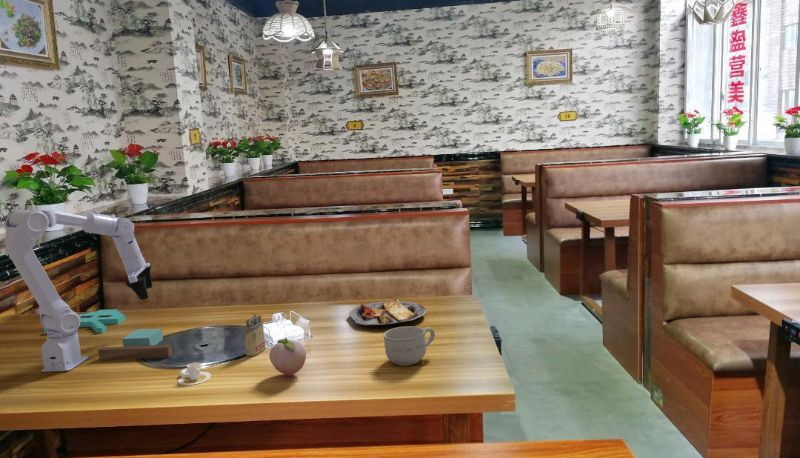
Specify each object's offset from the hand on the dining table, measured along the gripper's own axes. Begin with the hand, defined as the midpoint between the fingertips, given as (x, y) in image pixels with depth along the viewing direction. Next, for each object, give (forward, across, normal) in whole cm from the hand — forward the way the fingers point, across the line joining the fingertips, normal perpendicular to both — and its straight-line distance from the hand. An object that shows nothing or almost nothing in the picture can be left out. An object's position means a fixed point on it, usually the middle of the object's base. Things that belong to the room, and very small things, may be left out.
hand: (146, 293), depth 183 cm
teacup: (+17, -51, -70) cm, 89 cm away
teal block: (+11, -13, +2) cm, 17 cm away
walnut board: (+9, -22, +2) cm, 24 cm away
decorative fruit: (+12, -50, -40) cm, 65 cm away
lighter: (+14, -30, -30) cm, 45 cm away
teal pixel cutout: (+13, +17, +26) cm, 33 cm away
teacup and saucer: (+10, -41, -18) cm, 46 cm away
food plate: (+24, -14, -70) cm, 75 cm away
